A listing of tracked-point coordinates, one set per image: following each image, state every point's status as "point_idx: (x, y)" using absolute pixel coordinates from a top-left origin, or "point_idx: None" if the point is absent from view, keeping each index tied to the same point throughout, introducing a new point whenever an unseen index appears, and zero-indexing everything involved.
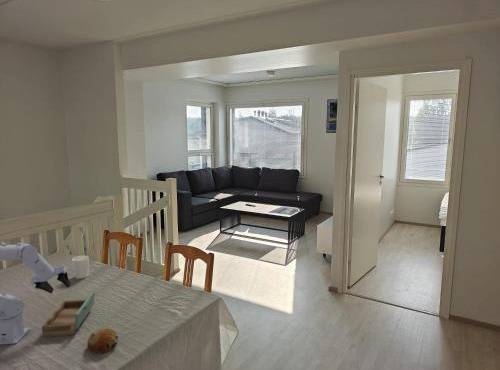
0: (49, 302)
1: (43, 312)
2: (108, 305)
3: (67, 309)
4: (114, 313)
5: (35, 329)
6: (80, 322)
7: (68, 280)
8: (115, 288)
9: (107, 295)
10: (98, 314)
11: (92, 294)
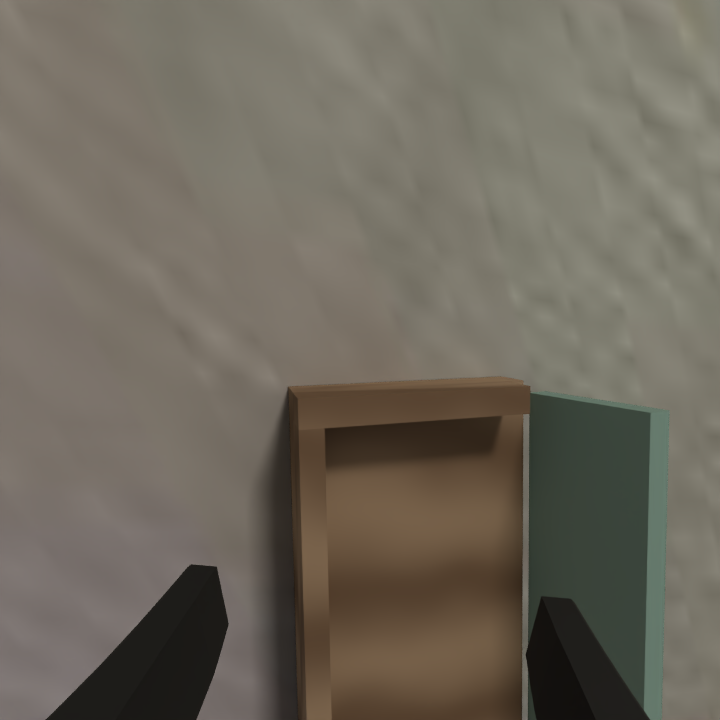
0: (40, 218)
1: (92, 430)
2: (607, 345)
3: (356, 478)
4: (669, 466)
5: None
6: None
7: (616, 698)
8: (589, 29)
9: (559, 163)
10: None
11: (666, 484)
